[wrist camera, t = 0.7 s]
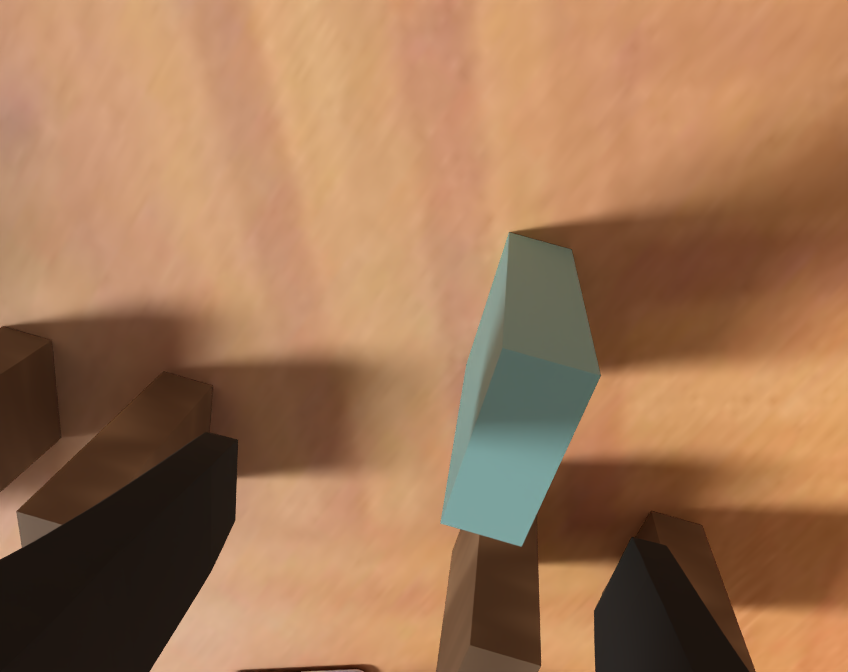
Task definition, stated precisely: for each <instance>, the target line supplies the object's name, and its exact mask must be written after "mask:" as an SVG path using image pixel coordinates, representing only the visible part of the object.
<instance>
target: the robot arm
mask: <svg viewBox="0 0 848 672" xmlns="http://www.w3.org/2000/svg"><path fill="white" fill-rule="evenodd" d="M237 454H238V440H237V439H233V438H229V437H224V436H220V435H216V434H212V433H208V432H205V433H203V434H201V435H200V436H198V437H197V438H195V439H194V440H192V441H191V442H189V443H188V444H186V445H185V446H183V447H182V448H180V449H179V450H178V451H176V452H175V453H173V454H172V455H170V456H169V457H167V458H166V459H164V460H163V461H161V462H160V463H158V464H157V465H156V466H154V467H153V468H151V469H150V470H148V471H147V472H145V473H144V474H142V475H141V476H139V477H138V478H136V479H135V480H133V481H132V482H130V483H128V484H127V485H125V486H124V487H122V488H121V489H119V490H118V491H116V492H114V493H113V494H111V495H110V496H108V497H107V498H105V499H104V500H102V501H101V502H99V503H97V504H96V505H94V506H93V507H91V508H89V509H88V510H86V511H85V512H83V513H81V514H79V515H78V516H76V517H74V518H73V519H71V520H69V521H68V522H66V523H64V524H63V525H61V526H59V527H57V528H56V529H54V530H52V531H51V532H49V533H47V534H46V535H44V536H42V537H40V538H39V539H37V540H35V541H33V542H32V543H30V544H28V545H26V546H24V547H23V548H21V549H19V550H17V551H15V552H14V553H12V554H10V555H8V556H6V557H4V558H2V559H0V672H149V671H150V670H151V668H152V667H153V665H154V663H155V662H156V660H157V659H158V657H159V655H160V654H161V652H162V651H163V649H164V647H165V646H166V644H167V643H168V641H169V639H170V638H171V636H172V634H173V633H174V631H175V630H176V628H177V626H178V625H179V623H180V622H181V620H182V618H183V617H184V615H185V614H186V612H187V610H188V609H189V607H190V605H191V604H192V602H193V601H194V599H195V597H196V596H197V594H198V592H199V591H200V589H201V588H202V586H203V584H204V583H205V581H206V579H207V578H208V576H209V574H210V573H211V571H212V569H213V567H214V564H215V562H216V560H217V558H218V556H219V554H220V552H221V550H222V548H223V546H224V544H225V541H226V539H227V537H228V535H229V533H230V531H231V528H232V526H233V524H234V522H235V514H236V484H237ZM594 643H595V671H596V672H749V670H748V669H747V667H746V666H745V664H744V663H743V662H742V660H741V659H740V657H739V656H738V654H737V653H736V651H735V650H734V648H733V647H732V645H731V644H730V642H729V641H728V639H727V638H726V636H725V635H724V633H723V632H722V630H721V629H720V627H719V626H718V624H717V623H716V621H715V620H714V618H713V616H712V615H711V613H710V612H709V610H708V609H707V607H706V606H705V604H704V603H703V601H702V599H701V598H700V596H699V595H698V593H697V592H696V590H695V589H694V587H693V585H692V584H691V582H690V581H689V579H688V578H687V576H686V574H685V573H684V571H683V570H682V568H681V567H680V565H679V564H678V562H677V561H676V559H675V557H674V556H673V554H672V553H671V551H670V550H669V548H668V547H667V545H663V544H659V543H655V542H651V541H647V540H643V539H639V538H635V537H632V538H631V540H630V541H629V543H628V545H627V547H626V549H625V551H624V553H623V555H622V557H621V559H620V561H619V563H618V565H617V567H616V569H615V571H614V573H613V575H612V577H611V579H610V581H609V583H608V585H607V587H606V589H605V590H604V592H603V594H602V596H601V598H600V600H599V602H598V604H597V606H596V608H595V610H594ZM303 672H364V671H362V670H359V669H349V670H326V671H303Z"/></svg>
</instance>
